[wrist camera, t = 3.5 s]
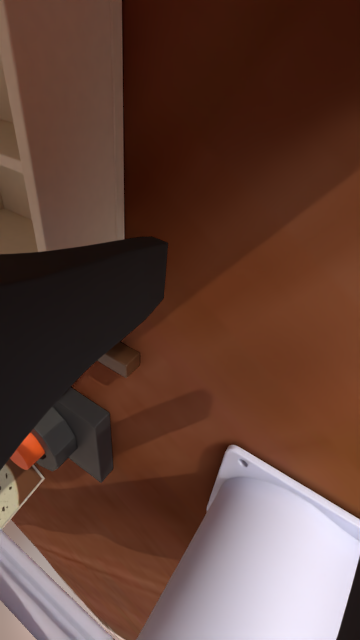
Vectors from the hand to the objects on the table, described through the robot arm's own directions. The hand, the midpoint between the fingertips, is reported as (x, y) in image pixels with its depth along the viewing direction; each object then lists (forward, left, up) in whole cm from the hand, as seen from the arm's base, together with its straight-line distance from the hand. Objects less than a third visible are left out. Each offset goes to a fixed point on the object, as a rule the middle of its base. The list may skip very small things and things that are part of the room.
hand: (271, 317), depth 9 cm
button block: (+14, +19, -3) cm, 24 cm away
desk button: (+14, +19, 0) cm, 24 cm away
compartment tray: (+11, 0, -3) cm, 12 cm away
